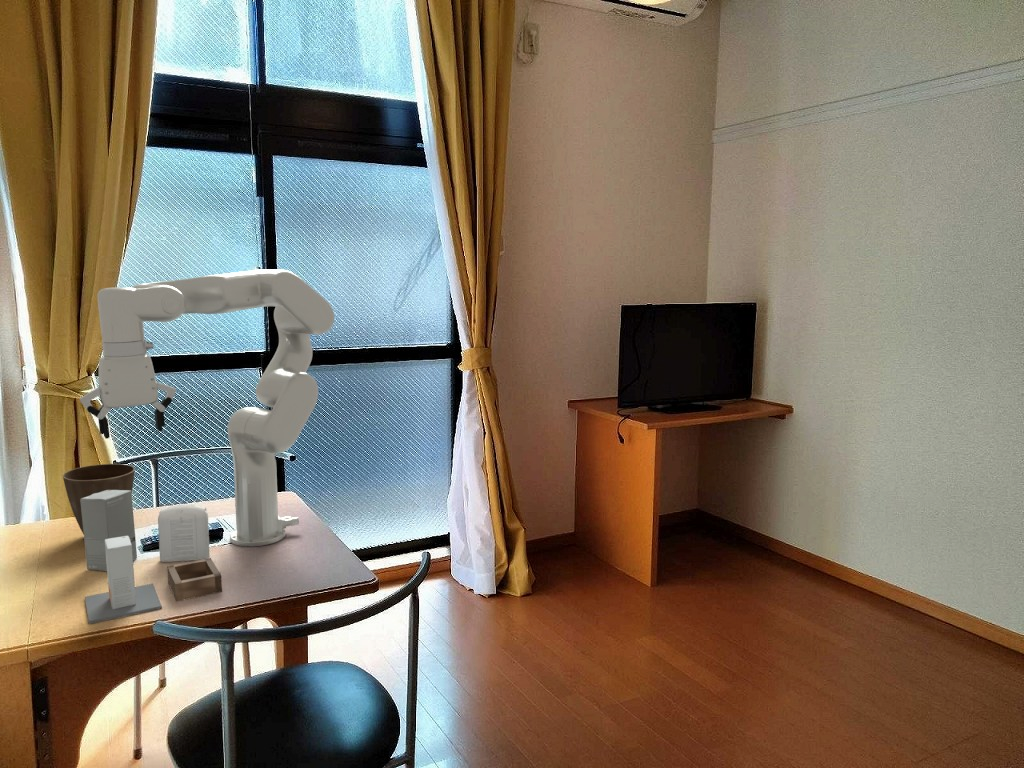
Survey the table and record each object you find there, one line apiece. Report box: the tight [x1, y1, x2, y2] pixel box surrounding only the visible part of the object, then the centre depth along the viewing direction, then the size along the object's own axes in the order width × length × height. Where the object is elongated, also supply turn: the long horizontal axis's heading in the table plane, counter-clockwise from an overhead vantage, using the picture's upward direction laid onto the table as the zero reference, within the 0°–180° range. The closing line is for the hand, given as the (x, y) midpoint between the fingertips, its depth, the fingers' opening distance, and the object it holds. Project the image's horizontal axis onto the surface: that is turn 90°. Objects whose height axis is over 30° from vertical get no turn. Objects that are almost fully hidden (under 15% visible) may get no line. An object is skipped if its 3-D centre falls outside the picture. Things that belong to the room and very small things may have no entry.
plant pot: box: [62, 463, 136, 536], centre depth 176 cm, size 15×15×16 cm
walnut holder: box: [166, 557, 223, 602], centre depth 149 cm, size 8×10×4 cm
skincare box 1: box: [80, 490, 138, 572], centre depth 159 cm, size 8×7×16 cm
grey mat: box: [84, 583, 163, 625], centre depth 141 cm, size 12×12×1 cm
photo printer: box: [157, 503, 211, 563], centre depth 163 cm, size 10×4×12 cm, turn 103°
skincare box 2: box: [105, 536, 136, 609], centre depth 140 cm, size 6×4×12 cm
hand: (133, 433), depth 150 cm, fingers open, 9 cm apart
